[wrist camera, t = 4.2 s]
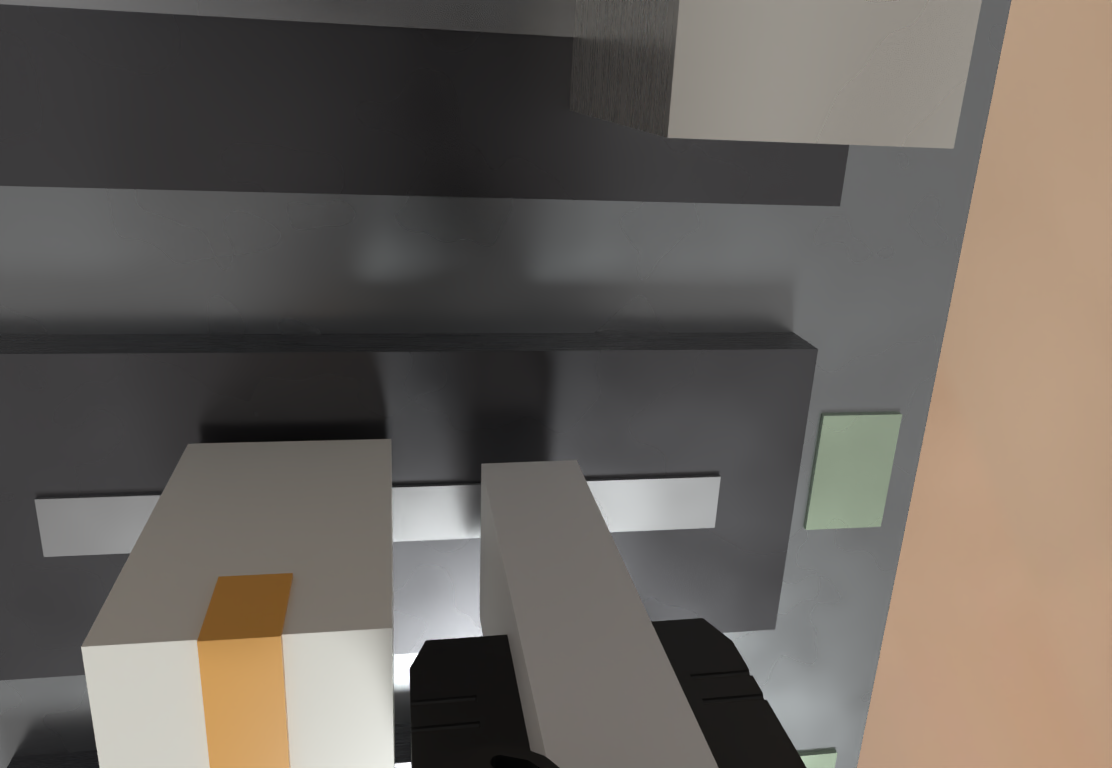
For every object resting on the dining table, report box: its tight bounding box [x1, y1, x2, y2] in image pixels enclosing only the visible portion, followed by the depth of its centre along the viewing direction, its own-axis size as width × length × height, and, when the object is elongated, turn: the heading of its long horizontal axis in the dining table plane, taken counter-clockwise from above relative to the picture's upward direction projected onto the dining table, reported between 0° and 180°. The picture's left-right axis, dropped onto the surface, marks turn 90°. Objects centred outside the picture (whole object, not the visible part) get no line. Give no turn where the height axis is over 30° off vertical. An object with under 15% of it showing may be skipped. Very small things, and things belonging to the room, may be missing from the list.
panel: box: [0, 0, 1011, 768], centre depth 14 cm, size 26×20×8 cm
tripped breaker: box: [81, 439, 395, 768], centre depth 12 cm, size 3×3×5 cm
